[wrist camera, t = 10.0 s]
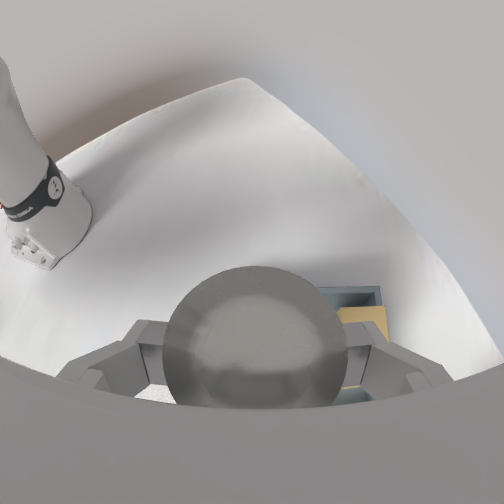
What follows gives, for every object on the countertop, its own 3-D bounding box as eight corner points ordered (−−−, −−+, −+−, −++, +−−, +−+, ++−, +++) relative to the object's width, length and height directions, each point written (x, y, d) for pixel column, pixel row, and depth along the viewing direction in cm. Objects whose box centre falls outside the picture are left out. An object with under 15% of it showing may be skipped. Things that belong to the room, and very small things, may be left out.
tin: (216, 409, 17) (157, 435, 6) (218, 335, 20) (172, 265, 9) (296, 410, 17) (349, 437, 6) (295, 335, 20) (340, 265, 9)
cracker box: (321, 389, 31) (344, 388, 22) (319, 329, 35) (340, 307, 26) (358, 386, 31) (391, 382, 22) (355, 327, 35) (385, 305, 26)
